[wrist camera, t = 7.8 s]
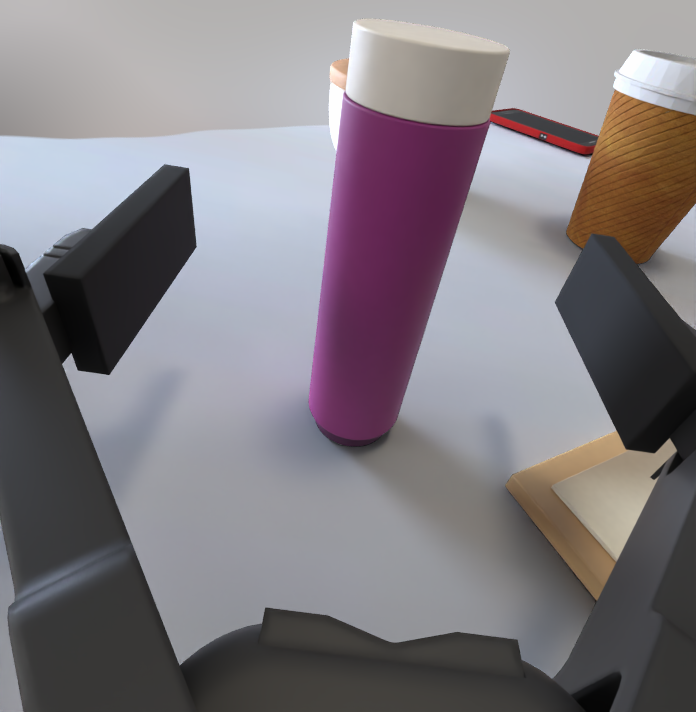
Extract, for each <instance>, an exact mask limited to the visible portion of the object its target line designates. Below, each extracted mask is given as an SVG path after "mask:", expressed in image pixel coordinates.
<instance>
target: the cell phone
mask: <svg viewBox="0 0 696 712" xmlns="http://www.w3.org/2000/svg"><path fill="white" fill-rule="evenodd" d="M490 121H491V122H494V123H497V124H500V125H502V126H505V127H508V128H511V129H513V130H516V131H519V132H522V133H524V134H527V135H530V136H533V137H535V138H538V139H541V140H544V141H547V142H549V143H552V144H555V145H558V146H560V147H563V148H566V149H569V150H571V151H574V152H577V153H580V154H590V153H593V152H594V149H595V146H596V143H597V140H598V137H599V136H597V135H595V134H591V133H588V132H586V131H582V130H580V129H576V128H573V127H571V126H568V125H564V124H562V123H559V122H556V121H553V120H550V119H547V118H544V117H541V116H538V115H535V114H532V113H529V112H526V111H523V110H520V109H515V108H511V109H503V110H495V111H492V112H491V115H490Z"/></svg>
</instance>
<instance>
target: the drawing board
mask: <svg viewBox="0 0 696 712" xmlns="http://www.w3.org/2000/svg"><path fill="white" fill-rule="evenodd" d="M676 451H677V450H676V448H675V446H674V444H673V443H672V441H671V439H670V438H669V439H668V440H667V441H666V442H665V443H664V444H663V446H662V447H661V448H660V449H659V450H658V451H657V452H656V453H655V454H654V453H647V452H640V451H633V450H626V449H625V447H624V445H623V443H622V441H621V439H620V436H619V434H618V432H617V431H615V432H613V433H610V434H608V435H605V436H603V437H601V438H598V439H596V440H594V441H591V442H589V443H586V444H584V445H582V446H579V447H577V448H575V449H572V450H570V451H567V452H565V453H563V454H560V455H558V456H556V457H553V458H551V459H548V460H546V461H544V462H541V463H539V464H536V465H534V466H532V467H529V468H527V469H525V470H522V471H520V472H517V473H515V474H513V475H512V476H511V477H510V479H509V481H508V482H507V484H506V485H505V486H506V488H507V489H508V491H509V492H510V493H511V494H512V496H513V497H514V498H515V499H516V501H517V502H518V503H519V504H520V506H521V507H522V508H523V509H524V511H525V512H526V513H527V514H528V516H529V517H530V518H531V519H532V521H533V522H534V523H535V524H536V526H537V527H538V528H539V529H540V531H541V532H542V533H543V534H544V536H545V537H546V538H547V539H548V541H549V542H550V543H551V544H552V546H553V547H554V548H555V549H556V551H557V552H558V553H559V554H560V556H561V557H562V558H563V559H564V561H565V562H566V563H567V564H568V566H569V567H570V568H571V569H572V571H573V572H574V573H575V574H576V576H577V577H578V578H579V579H580V581H581V582H582V583H583V584H584V586H585V587H586V588H587V589H588V591H589V592H590V593H591V594H592V596H593V597H594V598H595V599H596V601H597V600H598V598H599V596H600V594H601V592H602V590H603V588H604V586H605V584H606V582H607V580H608V578H609V576H610V574H611V572H612V570H613V568H614V566H615V564H616V562H617V560H618V558H619V556H620V554H621V552H622V550H623V548H624V546H625V544H626V542H627V540H628V538H629V536H630V534H631V532H632V530H633V528H634V526H635V524H636V522H637V520H638V518H639V516H640V514H641V512H642V510H643V508H644V506H645V504H646V502H647V500H648V498H649V496H650V494H651V492H652V490H653V488H654V486H655V484H656V482H657V480H658V478H659V477H658V478H656V479H655V480H653V479H652V478H650V477H651V476H652V475H653V474H654V473H655V472H656V471H657V470H658V469H659V468H660V467H661V466H662V465H663V464H664V463H665V462H666V461H667V460H668V459H669V458H670V457H671V456H672V455H673V454H674V453H675V452H676Z"/></svg>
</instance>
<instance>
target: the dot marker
mask: <svg viewBox="0 0 696 712" xmlns="http://www.w3.org/2000/svg"><path fill="white" fill-rule="evenodd" d="M509 54H510V51H509V49H508V48H507V47H506V46H504V45H502V44H500V43H497V42H494V41H491V40H488V39H485V38H481V37H477V36H473V35H469V34H465V33H461V32H457V31H452V30H447V29H442V28H437V27H432V26H426V25H420V24H414V23H407V22H399V21H392V20H382V19H359V20H356V21H354V23H353V31H352V39H351V47H350V56H349V65H348V73H347V82H346V90H345V92H344V93H343V99H342V108H341V116H340V125H339V134H338V143H337V152H336V161H335V170H334V179H333V188H332V197H331V206H330V214H329V223H328V232H327V241H326V250H325V259H324V268H323V277H322V286H321V295H320V304H319V313H318V321H317V330H316V339H315V348H314V357H313V366H312V375H311V384H310V393H309V408H310V411H311V413H312V415H313V417H314V419H315V421H316V424H317V426H318V428H319V429H320V431H321V432H322V433H323V434H324V435H325V436H326V437H327V438H329V439H330V440H332V441H334V442H336V443H338V444H341V445H345V446H353V447H357V446H365V445H368V444H371V443H373V442H375V441H376V440H378V439H379V438H380V437H381V436H382V435H383V434H384V433H386V432H387V431H388V430H389V429H390V428H391V427H392V426H393V425H394V423H395V422H396V420H397V417H398V414H399V411H400V407H401V404H402V401H403V398H404V395H405V392H406V388H407V385H408V382H409V379H410V376H411V373H412V369H413V366H414V363H415V360H416V357H417V354H418V350H419V347H420V344H421V341H422V338H423V334H424V331H425V328H426V325H427V322H428V319H429V315H430V312H431V309H432V306H433V303H434V300H435V296H436V293H437V290H438V287H439V284H440V281H441V277H442V274H443V271H444V268H445V265H446V262H447V258H448V255H449V252H450V249H451V246H452V243H453V239H454V236H455V233H456V230H457V227H458V224H459V220H460V217H461V214H462V211H463V208H464V205H465V201H466V198H467V195H468V192H469V189H470V185H471V182H472V179H473V176H474V173H475V170H476V166H477V163H478V160H479V157H480V154H481V151H482V147H483V144H484V141H485V138H486V135H487V132H488V128H489V125H490V115H491V112H492V108H493V105H494V102H495V98H496V96H497V92H498V89H499V86H500V83H501V80H502V76H503V73H504V70H505V67H506V64H507V60H508V57H509Z"/></svg>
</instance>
